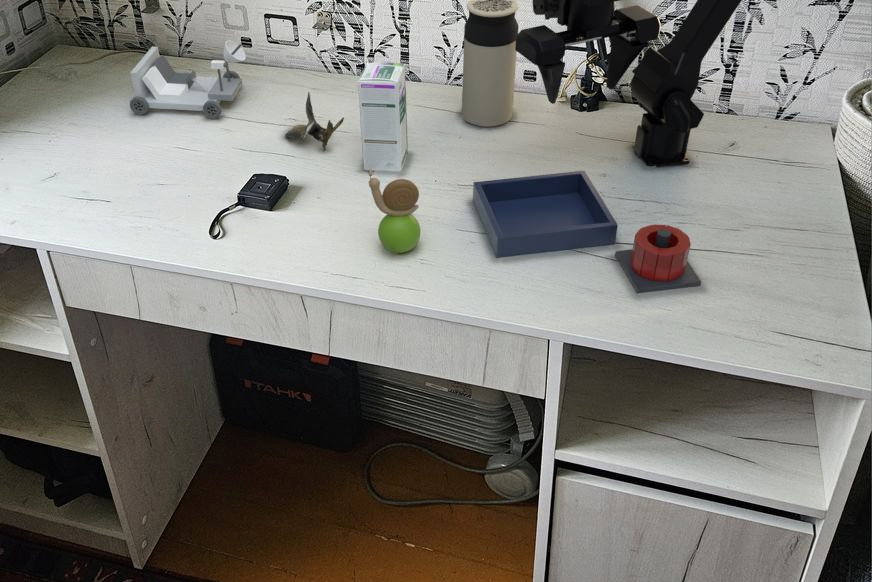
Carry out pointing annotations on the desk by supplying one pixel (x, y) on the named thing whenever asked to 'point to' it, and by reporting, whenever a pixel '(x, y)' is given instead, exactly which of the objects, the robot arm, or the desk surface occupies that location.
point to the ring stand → (648, 285)
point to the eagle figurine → (313, 127)
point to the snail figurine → (397, 213)
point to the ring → (660, 254)
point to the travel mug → (489, 62)
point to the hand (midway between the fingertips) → (581, 95)
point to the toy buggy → (184, 84)
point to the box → (543, 214)
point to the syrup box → (383, 116)
